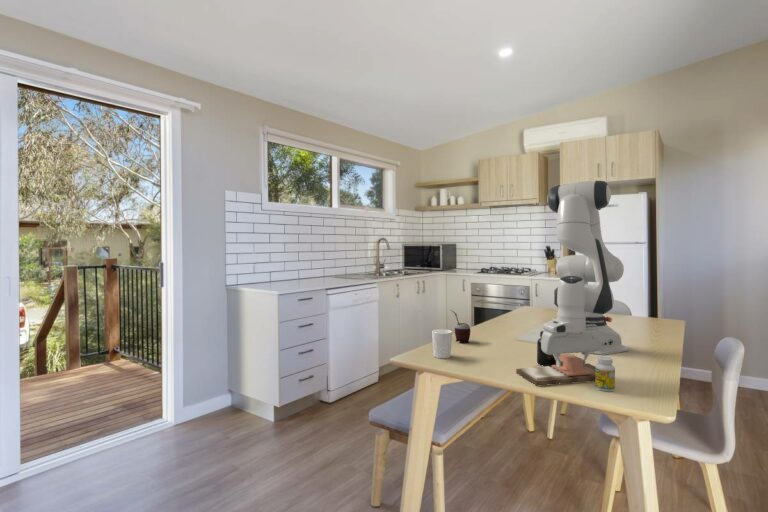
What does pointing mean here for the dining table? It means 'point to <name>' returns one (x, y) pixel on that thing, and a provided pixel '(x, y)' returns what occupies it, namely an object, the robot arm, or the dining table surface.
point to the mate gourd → (462, 331)
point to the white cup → (442, 343)
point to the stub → (571, 365)
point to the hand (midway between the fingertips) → (570, 365)
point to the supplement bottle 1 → (544, 355)
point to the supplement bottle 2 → (605, 374)
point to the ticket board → (554, 375)
